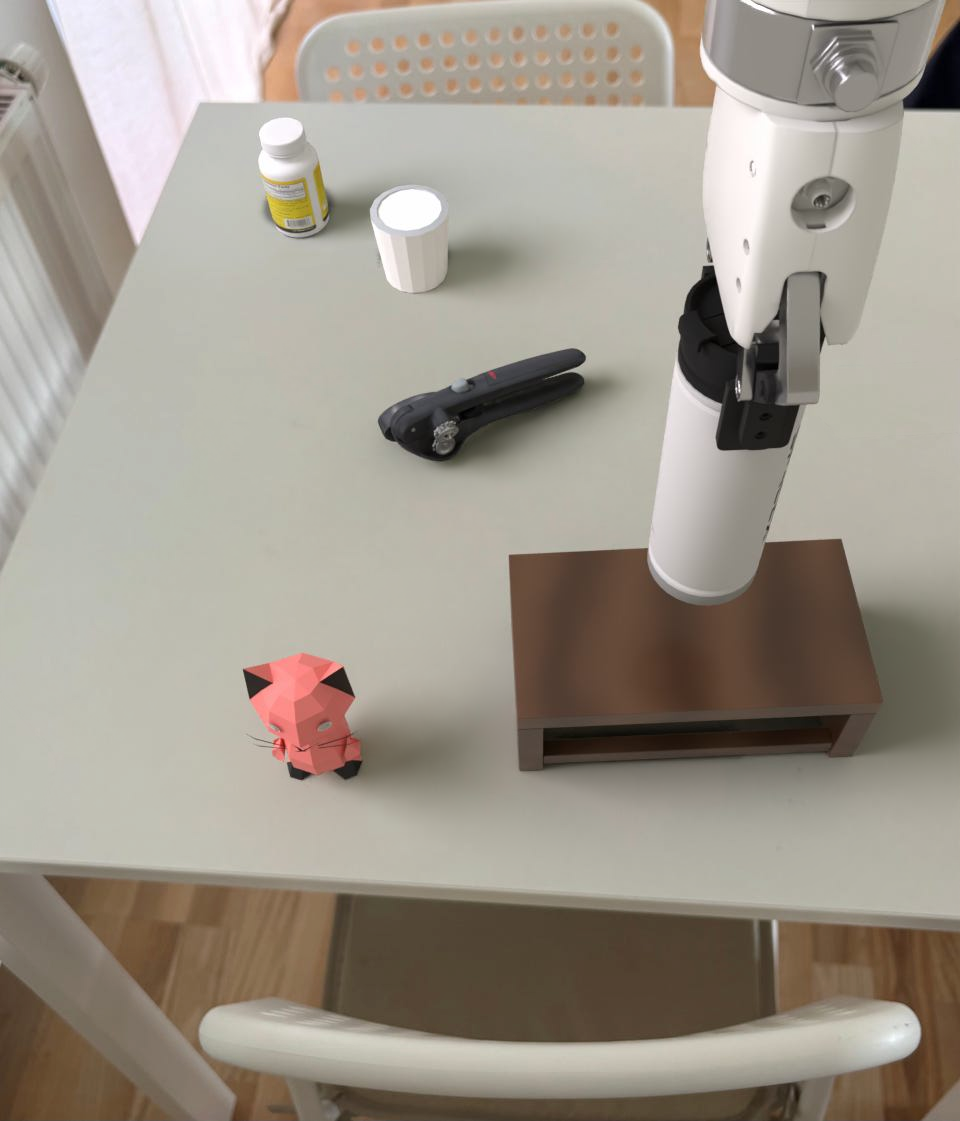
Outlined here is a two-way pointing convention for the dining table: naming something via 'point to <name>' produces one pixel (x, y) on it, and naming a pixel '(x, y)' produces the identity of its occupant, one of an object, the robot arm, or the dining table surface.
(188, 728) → the dining table surface
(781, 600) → the shelf
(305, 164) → the supplement bottle
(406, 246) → the shot glass
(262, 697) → the cat figurine
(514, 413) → the can opener
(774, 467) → the travel mug
